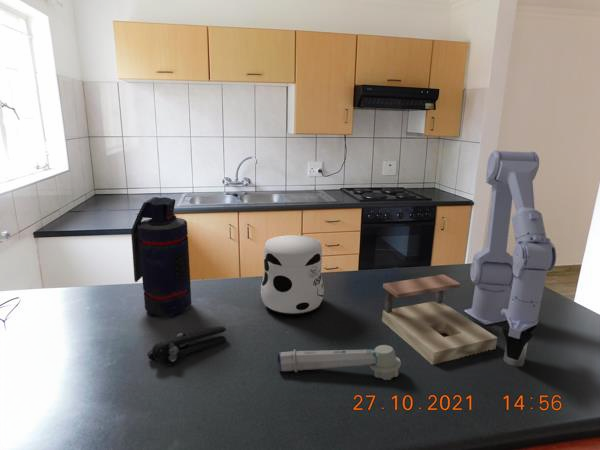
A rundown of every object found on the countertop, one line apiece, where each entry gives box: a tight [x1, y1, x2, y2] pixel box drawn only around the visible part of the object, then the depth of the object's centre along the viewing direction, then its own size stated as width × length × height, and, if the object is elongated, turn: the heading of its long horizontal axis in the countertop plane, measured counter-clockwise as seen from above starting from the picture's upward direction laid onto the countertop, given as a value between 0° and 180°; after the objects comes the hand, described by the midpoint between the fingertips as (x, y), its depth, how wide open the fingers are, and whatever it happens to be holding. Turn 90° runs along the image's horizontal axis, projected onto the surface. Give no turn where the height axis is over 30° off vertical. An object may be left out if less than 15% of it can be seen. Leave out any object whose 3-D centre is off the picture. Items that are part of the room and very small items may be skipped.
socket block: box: [381, 274, 498, 366], centre depth 99 cm, size 19×20×10 cm
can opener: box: [146, 325, 227, 366], centre depth 90 cm, size 18×7×6 cm, turn 128°
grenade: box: [130, 196, 192, 318], centre depth 106 cm, size 14×12×30 cm
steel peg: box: [502, 331, 529, 368], centre depth 90 cm, size 4×4×7 cm
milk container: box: [260, 234, 325, 316], centre depth 111 cm, size 17×17×18 cm
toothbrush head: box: [277, 344, 402, 381], centre depth 85 cm, size 5×7×25 cm
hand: (514, 353), depth 90 cm, fingers closed on steel peg, 4 cm apart
